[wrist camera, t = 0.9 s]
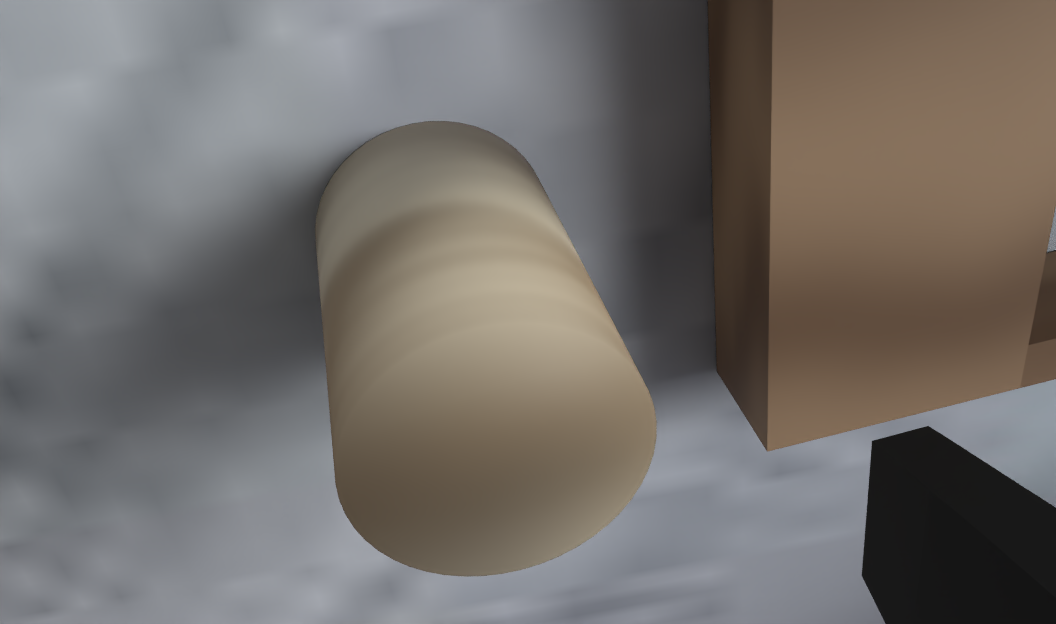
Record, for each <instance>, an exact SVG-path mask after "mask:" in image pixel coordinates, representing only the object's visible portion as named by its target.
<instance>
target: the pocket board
mask: <svg viewBox="0 0 1056 624" xmlns="http://www.w3.org/2000/svg"><path fill="white" fill-rule="evenodd" d="M708 34H709V75H710V116H711V157H712V197H713V238H714V279H715V320H716V361H717V373H718V374H719V376H720V377H721V379H722V380H723V382H724V384H725V385H726V387H727V388H728V390H729V392H730V393H731V395H732V396H733V398H734V400H735V401H736V403H737V404H738V406H739V407H740V409H741V411H742V412H743V414H744V415H745V417H746V419H747V420H748V422H749V423H750V425H751V426H752V428H753V430H754V431H755V433H756V434H757V436H758V438H759V439H760V441H761V442H762V444H763V446H764V447H765V449H766V450H767V451H771V450H775V449H779V448H783V447H787V446H791V445H795V444H799V443H803V442H807V441H811V440H815V439H819V438H823V437H827V436H831V435H835V434H839V433H843V432H847V431H851V430H855V429H859V428H863V427H867V426H871V425H875V424H879V423H883V422H887V421H891V420H895V419H899V418H903V417H907V416H911V415H915V414H919V413H922V412H926V411H930V410H934V409H938V408H942V407H946V406H950V405H954V404H958V403H962V402H966V401H970V400H974V399H978V398H982V397H986V396H990V395H994V394H998V393H1002V392H1006V391H1010V390H1014V389H1018V388H1022V387H1026V386H1030V385H1034V384H1038V383H1042V382H1046V381H1050V380H1054V379H1056V251H1054V252H1050V253H1046V252H1047V247H1048V242H1049V237H1050V232H1051V227H1052V222H1053V217H1054V212H1055V206H1056V0H708Z"/></svg>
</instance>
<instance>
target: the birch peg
mask: <svg viewBox="0 0 1056 624" xmlns="http://www.w3.org/2000/svg"><path fill="white" fill-rule="evenodd" d="M315 237H316V251H317V264H318V276H319V288H320V300H321V312H322V325H323V337H324V349H325V361H326V373H327V385H328V398H329V410H330V422H331V434H332V446H333V459H334V471H335V483H336V488H337V492H338V497H339V500H340V503H341V505H342V507H343V510H344V512H345V514H346V516H347V518H348V519H349V521H350V522H351V524H352V525H353V527H354V528H355V529H356V530H357V532H358V533H359V534H360V535H361V536H362V537H363V538H364V539H365V540H366V541H367V542H368V543H369V544H371V545H372V546H373V547H374V548H376V549H377V550H378V551H380V552H381V553H383V554H385V555H386V556H388V557H390V558H391V559H393V560H395V561H398V562H400V563H402V564H405V565H407V566H409V567H413V568H416V569H419V570H423V571H426V572H431V573H437V574H442V575H452V576H487V575H496V574H503V573H508V572H513V571H518V570H522V569H525V568H529V567H532V566H535V565H539V564H541V563H544V562H546V561H549V560H551V559H554V558H556V557H559V556H561V555H563V554H564V553H566V552H568V551H570V550H572V549H574V548H576V547H578V546H579V545H581V544H582V543H584V542H585V541H587V540H589V539H590V538H592V537H593V536H594V535H596V534H597V533H598V532H599V531H601V530H602V529H603V528H604V527H606V526H607V525H608V524H609V523H610V522H611V521H612V520H613V519H614V518H615V517H616V516H617V515H618V514H619V513H620V512H621V511H622V510H623V509H624V508H625V506H626V505H627V504H628V503H629V502H630V500H631V499H632V498H633V496H634V495H635V493H636V492H637V490H638V488H639V487H640V485H641V484H642V482H643V479H644V477H645V475H646V473H647V471H648V469H649V466H650V463H651V460H652V457H653V454H654V448H655V443H656V416H655V409H654V405H653V402H652V399H651V396H650V393H649V390H648V389H647V387H646V385H645V383H644V381H643V379H642V377H641V375H640V373H639V371H638V369H637V367H636V365H635V364H634V362H633V360H632V358H631V356H630V354H629V352H628V350H627V348H626V346H625V344H624V342H623V340H622V339H621V337H620V335H619V333H618V331H617V329H616V327H615V325H614V323H613V321H612V319H611V317H610V315H609V313H608V312H607V310H606V308H605V306H604V304H603V302H602V300H601V298H600V296H599V294H598V292H597V290H596V288H595V287H594V285H593V283H592V281H591V279H590V277H589V275H588V273H587V271H586V269H585V267H584V265H583V263H582V262H581V260H580V258H579V256H578V254H577V252H576V250H575V248H574V246H573V244H572V242H571V240H570V238H569V236H568V235H567V233H566V231H565V229H564V227H563V225H562V223H561V221H560V219H559V217H558V215H557V213H556V211H555V210H554V208H553V206H552V204H551V202H550V200H549V198H548V196H547V194H546V192H545V190H544V188H543V186H542V185H541V183H540V181H539V179H538V177H537V175H536V173H535V172H534V170H533V168H532V167H531V166H530V164H529V163H528V162H527V160H526V159H525V158H524V157H523V156H522V155H521V154H520V153H519V152H518V151H517V150H516V149H515V148H514V147H513V146H511V145H510V144H509V143H507V142H506V141H505V140H503V139H502V138H500V137H498V136H496V135H494V134H493V133H491V132H489V131H486V130H483V129H481V128H478V127H475V126H471V125H467V124H463V123H457V122H448V121H428V122H421V123H414V124H409V125H405V126H402V127H398V128H395V129H393V130H390V131H388V132H385V133H383V134H381V135H379V136H377V137H375V138H373V139H372V140H370V141H368V142H366V143H365V144H364V145H362V146H361V147H360V148H358V149H357V150H356V151H354V152H353V153H352V154H351V155H350V156H349V157H348V158H347V159H346V160H345V161H344V162H343V163H342V164H341V165H340V167H339V168H338V169H337V171H336V172H335V173H334V174H333V176H332V178H331V179H330V181H329V183H328V184H327V186H326V188H325V190H324V193H323V195H322V198H321V200H320V203H319V207H318V211H317V215H316V225H315Z"/></svg>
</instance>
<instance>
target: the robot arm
mask: <svg viewBox="0 0 1056 624" xmlns="http://www.w3.org/2000/svg"><path fill="white" fill-rule="evenodd" d="M862 577H863V579H864V581H865V583H866V585H867V587H868V589H869V591H870V593H871V595H872V597H873V599H874V601H875V603H876V605H877V607H878V609H879V611H880V613H881V615H882V617H883V619H884V621H885V623H886V624H1056V508H1055V507H1054V506H1052V505H1051V504H1049V503H1048V502H1046V501H1044V500H1043V499H1041V498H1040V497H1038V496H1037V495H1035V494H1033V493H1032V492H1030V491H1029V490H1027V489H1026V488H1024V487H1022V486H1021V485H1019V484H1018V483H1016V482H1015V481H1013V480H1012V479H1010V478H1009V477H1007V476H1005V475H1004V474H1002V473H1001V472H999V471H998V470H996V469H995V468H993V467H992V466H990V465H988V464H987V463H985V462H984V461H982V460H981V459H979V458H978V457H976V456H974V455H973V454H971V453H970V452H968V451H967V450H965V449H964V448H962V447H961V446H959V445H957V444H956V443H954V442H953V441H951V440H950V439H948V438H946V437H945V436H943V435H942V434H940V433H938V432H937V431H935V430H934V429H932V428H930V427H929V426H927V427H923V428H919V429H915V430H912V431H908V432H904V433H900V434H897V435H893V436H889V437H885V438H881V439H878V440H874V441H872V450H871V463H870V477H869V490H868V503H867V516H866V529H865V542H864V555H863V568H862Z"/></svg>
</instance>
